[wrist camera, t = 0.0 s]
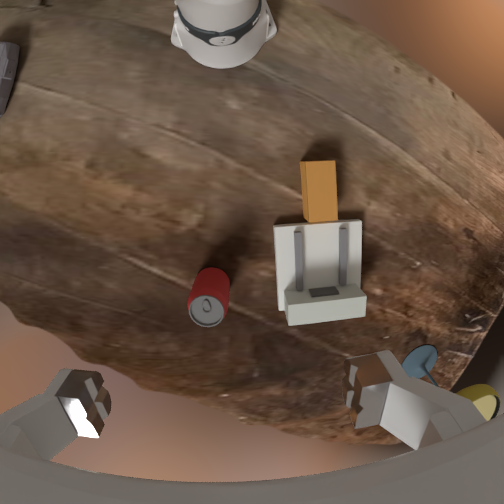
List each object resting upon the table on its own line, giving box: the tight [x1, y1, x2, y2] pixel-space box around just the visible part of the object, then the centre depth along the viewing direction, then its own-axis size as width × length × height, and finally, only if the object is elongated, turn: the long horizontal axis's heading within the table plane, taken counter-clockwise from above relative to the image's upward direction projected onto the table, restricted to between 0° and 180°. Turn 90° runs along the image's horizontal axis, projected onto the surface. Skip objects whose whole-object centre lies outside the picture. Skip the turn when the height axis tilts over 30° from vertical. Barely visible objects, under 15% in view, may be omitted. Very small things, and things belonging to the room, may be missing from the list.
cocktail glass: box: [402, 345, 500, 421], centre depth 56 cm, size 18×18×25 cm
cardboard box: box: [300, 160, 338, 223], centre depth 53 cm, size 10×5×5 cm, turn 5°
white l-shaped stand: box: [273, 219, 367, 326], centre depth 56 cm, size 16×16×8 cm
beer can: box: [188, 267, 230, 327], centre depth 54 cm, size 7×7×12 cm
